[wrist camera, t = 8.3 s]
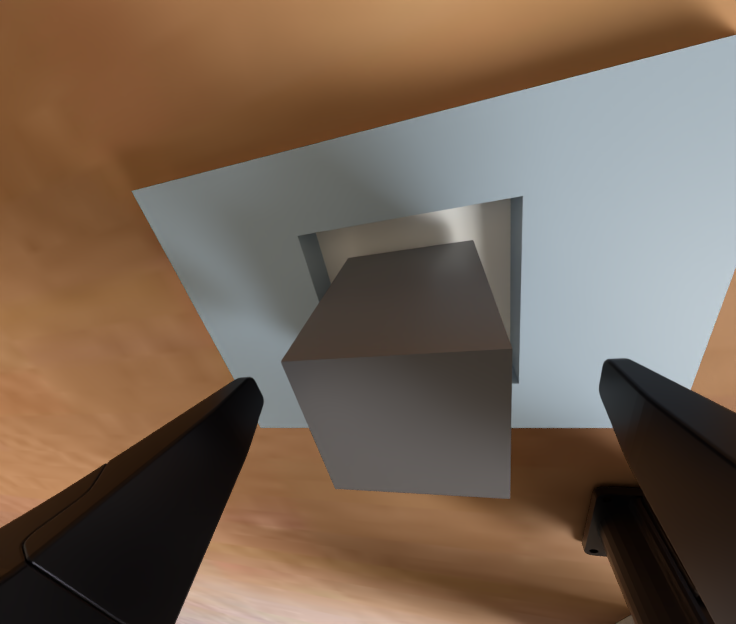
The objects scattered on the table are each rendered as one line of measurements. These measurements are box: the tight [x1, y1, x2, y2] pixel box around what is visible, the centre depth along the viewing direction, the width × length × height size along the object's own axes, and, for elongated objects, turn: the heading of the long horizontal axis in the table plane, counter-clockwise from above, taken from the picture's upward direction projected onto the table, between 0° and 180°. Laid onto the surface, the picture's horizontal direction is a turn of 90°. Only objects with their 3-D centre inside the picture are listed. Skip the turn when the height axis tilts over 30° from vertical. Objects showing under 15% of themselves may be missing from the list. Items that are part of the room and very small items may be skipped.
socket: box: [132, 35, 736, 428], centre depth 12 cm, size 12×18×2 cm, turn 102°
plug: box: [281, 240, 513, 499], centre depth 10 cm, size 4×4×7 cm
